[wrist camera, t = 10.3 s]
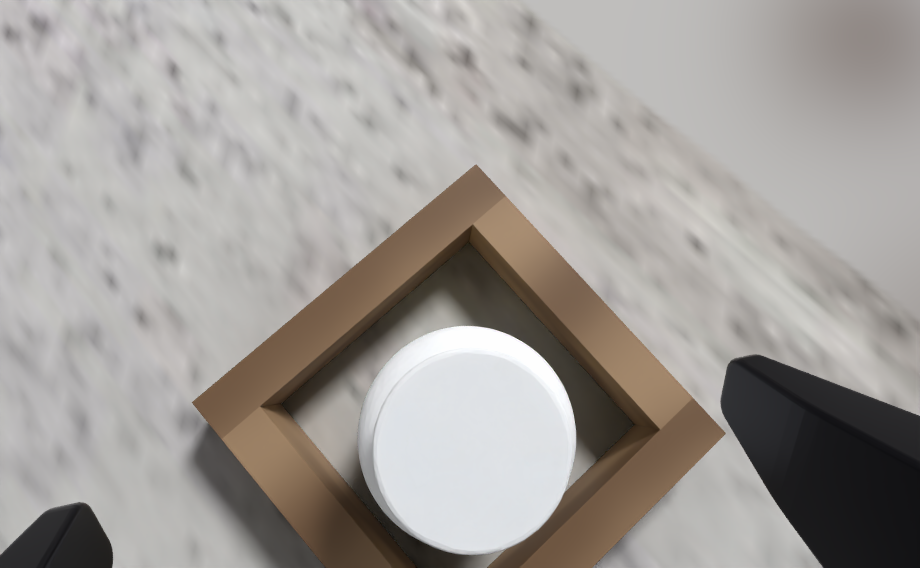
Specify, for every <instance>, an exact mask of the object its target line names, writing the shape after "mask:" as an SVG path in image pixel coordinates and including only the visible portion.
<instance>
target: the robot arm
mask: <svg viewBox="0 0 920 568" xmlns="http://www.w3.org/2000/svg"><path fill="white" fill-rule="evenodd" d="M721 409H722V412H723V415H724V417H725V419H726V420H727V422H728V424H729V426H730V427H731V429H732V431H733V432H734V434H735V436H736V437H737V439H738V441H739V442H740V444H741V446H742V447H743V449H744V451H745V452H746V454H747V456H748V457H749V459H750V461H751V462H752V464H753V466H754V467H755V469H756V471H757V472H758V474H759V476H760V478H761V479H762V481H763V483H764V484H765V486H766V488H767V489H768V491H769V492H770V494H771V495H772V497H773V499H774V500H775V502H776V503H777V505H778V506H779V508H780V509H781V511H782V512H783V513H784V515H785V516H786V518H787V519H788V520H789V522H790V523H791V525H792V526H793V527H794V529H795V530H796V531H797V533H798V534H799V535H800V537H801V538H802V539H803V541H804V542H805V544H806V545H807V546H808V548H809V549H810V550H811V552H812V553H813V554H814V556H815V557H816V559H817V560H818V561H819V563H820V564H821V565H822V567H823V568H920V416H919V415H916V414H913V413H911V412H908V411H905V410H903V409H900V408H898V407H895V406H892V405H890V404H887V403H884V402H882V401H879V400H877V399H874V398H871V397H869V396H866V395H864V394H861V393H858V392H856V391H853V390H850V389H848V388H845V387H843V386H840V385H837V384H835V383H832V382H830V381H827V380H824V379H822V378H819V377H816V376H814V375H811V374H809V373H806V372H803V371H801V370H798V369H796V368H793V367H790V366H788V365H785V364H782V363H780V362H777V361H775V360H772V359H769V358H767V357H764V356H761V355H749V356H744V357H739V358H735V359H733V360H731V361H730V363H729V364H728V366H727V370H726V375H725V380H724V385H723V390H722V395H721ZM112 565H113V552H112V547H111V543H110V541H109V539H108V537H107V536H106V534H105V532H104V530H103V528H102V527H101V525H100V523H99V521H98V519H97V518H96V516H95V514H94V512H93V511H92V509H91V508H90V506H89V505H87V504H86V503H81V502H78V503H73V504H69V505H64V506H60V507H55V508H52V509H49V510H47V511H46V512H44V513H43V514H42V515H41V516H40V517H39V518H38V519H37V520H36V521H35V522H34V523H33V524H31V525H30V526H29V527H28V528H27V529H26V530H25V531H24V532H23V533H22V534H21V535H20V536H19V537H18V538H17V539H16V540H15V541H14V542H13V543H12V544H11V545H10V546H9V547H8V548H7V549H6V550H5V551H4V552H3V553H2V554H1V555H0V568H112Z"/></svg>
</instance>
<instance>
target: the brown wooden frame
mask: <svg viewBox="0 0 920 568" xmlns="http://www.w3.org/2000/svg"><path fill="white" fill-rule="evenodd" d="M468 242H469V243H470V244H471V245H472V246H473V247H474V248H475V249H476V250H477V251H478V252H479V254H480V255H481V256H482V257H483V258H484V259H485V260H486V261H487V262H488V263H489V265H490V266H491V267H492V268H493V269H494V270H495V271H496V272H497V273H498V274H499V276H500V277H501V278H502V279H503V280H504V281H505V282H506V283H507V284H508V285H509V287H510V288H511V289H512V290H513V291H514V292H515V293H516V294H517V295H518V296H519V298H520V299H521V300H522V301H523V302H524V303H525V304H526V305H527V306H528V307H529V309H530V310H531V311H532V312H533V313H534V314H535V315H536V316H537V317H538V318H539V320H540V321H541V322H542V323H543V324H544V325H545V326H546V327H547V328H548V329H549V331H550V332H551V333H552V334H553V335H554V336H555V337H556V338H557V339H558V340H559V342H560V343H561V344H562V345H563V346H564V347H565V348H566V349H567V350H568V351H569V353H570V354H571V355H572V356H573V357H574V358H575V359H576V360H577V361H578V362H579V364H580V365H581V366H582V367H583V368H584V369H585V370H586V371H587V372H588V374H589V375H590V376H591V377H592V378H593V379H594V380H595V381H596V382H597V383H598V385H599V386H600V387H601V388H602V389H603V390H604V391H605V392H606V393H607V394H608V396H609V397H610V398H611V399H612V400H613V401H614V402H615V403H616V404H617V405H618V407H619V408H620V409H621V410H622V411H623V412H624V413H625V414H626V415H627V416H628V418H629V419H630V420H631V421H632V422H633V423H634V424H635V425H634V426H633V427H632V428H631V429H630V430H629V431H628V432H627V433H626V434H625V435H624V436H623V437H621V438H620V439H619V440H618V441H617V442H616V443H615V444H614V445H613V446H612V447H611V448H610V449H609V450H608V451H607V452H606V453H605V454H604V455H603V456H602V457H601V458H600V459H599V460H598V461H597V462H596V463H595V464H594V465H593V466H592V467H590V468H589V469H588V470H587V471H586V472H585V473H584V474H583V475H582V476H581V477H580V478H579V479H578V480H577V481H576V482H575V483H574V484H573V485H572V486H571V487H570V488H569V489H568V490H567V491H566V492H565V493H564V494H563V496H562V499H561V501H560V503H559V504H558V506H557V508H556V509H555V511H554V512H553V513H552V515H551V516H550V518H549V519H548V520H547V521H546V522H545V523H544V524H543V525H542V527H541V528H540V529H539V530H537V531H536V532H535V533H533V534H532V535H531V536H529V537H528V538H527V539H526V540H524V541H522V542H520V543H519V544H517V545H515V546H512V547H510V548H508V549H506V550H505V551H504V552H503V553H502V554H501V555H500V556H499V557H498V558H497V559H496V560H494V561H493V562H492V563H491V564H490V565H489V566H488V567H487V568H592V567H593V566H594V565H595V564H596V563H597V562H598V561H599V560H600V559H601V558H602V557H603V556H604V555H605V554H606V553H607V552H608V551H609V550H610V549H611V548H612V547H613V546H614V545H615V544H616V543H617V542H618V541H619V540H620V539H621V538H622V537H623V536H624V535H625V534H626V533H627V532H628V531H629V530H630V529H631V528H632V527H633V526H634V525H635V524H636V523H637V522H638V521H639V520H640V519H641V518H642V517H643V516H644V515H645V514H646V513H647V512H648V511H649V510H650V509H651V508H652V507H653V506H654V505H655V504H656V503H657V502H658V501H659V500H660V499H661V498H662V497H663V496H664V495H665V494H666V493H667V492H668V491H669V490H670V489H671V488H672V487H673V486H674V485H675V484H676V483H677V482H678V481H679V480H680V479H681V478H682V477H683V476H684V475H685V474H686V473H687V472H688V471H689V470H690V469H691V468H692V467H693V466H694V465H695V464H696V463H697V462H698V461H699V460H700V459H701V458H702V457H703V456H704V455H705V454H706V453H707V452H708V451H709V450H710V449H711V448H712V447H713V446H714V445H715V444H716V443H717V442H718V441H719V440H720V439H721V438H722V437H723V436H724V435H725V434H726V433H725V432H724V431H723V430H722V429H721V428H720V427H719V425H718V424H717V423H716V422H715V421H714V420H713V419H712V418H711V417H710V416H709V415H708V414H707V413H706V411H705V410H704V409H703V408H702V407H701V406H700V405H699V404H698V403H697V402H696V401H695V400H694V399H693V397H692V396H691V395H690V394H689V393H688V392H687V391H686V390H685V389H684V388H683V387H682V386H681V385H680V383H679V382H678V381H677V380H676V379H675V378H674V377H673V376H672V375H671V374H670V373H669V372H668V370H667V369H666V368H665V367H664V366H663V365H662V364H661V363H660V362H659V361H658V360H657V359H656V358H655V356H654V355H653V354H652V353H651V352H650V351H649V350H648V349H647V348H646V347H645V346H644V345H643V344H642V342H641V341H640V340H639V339H638V338H637V337H636V336H635V335H634V334H633V333H632V332H631V331H630V330H629V328H628V327H627V326H626V325H625V324H624V323H623V322H622V321H621V320H620V319H619V318H618V317H617V316H616V314H615V313H614V312H613V311H612V310H611V309H610V308H609V307H608V306H607V305H606V304H605V303H604V302H603V300H602V299H601V298H600V297H599V296H598V295H597V294H596V293H595V292H594V291H593V290H592V289H591V288H590V286H589V285H588V284H587V283H586V282H585V281H584V280H583V279H582V278H581V277H580V276H579V275H578V273H577V272H576V271H575V270H574V269H573V268H572V267H571V266H570V265H569V264H568V263H567V262H566V261H565V259H564V258H563V257H562V256H561V255H560V254H559V253H558V252H557V251H556V250H555V249H554V248H553V247H552V245H551V244H550V243H549V242H548V241H547V240H546V239H545V238H544V237H543V236H542V235H541V234H540V233H539V231H538V230H537V229H536V228H535V227H534V226H533V225H532V224H531V223H530V222H529V221H528V220H527V219H526V217H525V216H524V215H523V214H522V213H521V212H520V211H519V210H518V209H517V208H516V207H515V206H514V205H513V203H512V202H511V201H510V200H509V199H508V198H507V197H506V196H505V195H504V194H503V193H502V192H501V191H500V189H499V188H498V187H497V186H496V185H495V184H494V183H493V182H492V181H491V180H490V179H489V178H488V177H487V175H486V174H485V173H484V172H483V171H482V170H481V169H480V168H479V167H478V166H477V165H474V166H473V167H472V168H471V169H470V170H469V171H467V172H466V173H465V174H464V175H463V176H461V177H460V178H459V179H458V180H457V181H455V182H454V183H453V184H452V185H451V186H449V187H448V188H447V189H446V190H445V191H443V192H442V193H441V194H440V195H439V196H437V197H436V198H435V199H434V200H433V201H432V202H430V203H429V204H428V205H427V206H426V207H424V208H423V209H422V210H421V211H420V212H418V213H417V214H416V215H415V216H414V217H412V218H411V219H410V220H409V221H408V222H406V223H405V224H404V225H403V226H402V227H401V228H399V229H398V230H397V231H396V232H395V233H393V234H392V235H391V236H390V237H389V238H387V239H386V240H385V241H384V242H383V243H381V244H380V245H379V246H378V247H377V248H375V249H374V250H373V251H372V252H371V253H369V254H368V255H367V256H366V257H365V258H364V259H362V260H361V261H360V262H359V263H358V264H356V265H355V266H354V267H353V268H352V269H350V270H349V271H348V272H347V273H346V274H344V275H343V276H342V277H341V278H340V279H338V280H337V281H336V282H335V283H334V284H333V285H331V286H330V287H329V288H328V289H327V290H325V291H324V292H323V293H322V294H321V295H319V296H318V297H317V298H316V299H315V300H313V301H312V302H311V303H310V304H309V305H307V306H306V307H305V308H304V309H303V310H301V311H300V312H299V313H298V314H297V315H296V316H294V317H293V318H292V319H291V320H290V321H288V322H287V323H286V324H285V325H284V326H282V327H281V328H280V329H279V330H278V331H276V332H275V333H274V334H273V335H272V336H270V337H269V338H268V339H267V340H266V341H265V342H263V343H262V344H261V345H260V346H259V347H257V348H256V349H255V350H254V351H253V352H251V353H250V354H249V355H248V356H247V357H245V358H244V359H243V360H242V361H241V362H239V363H238V364H237V365H236V366H235V367H233V368H232V369H231V370H230V371H229V372H228V373H226V374H225V375H224V376H223V377H222V378H220V379H219V380H218V381H217V382H216V383H214V384H213V385H212V386H211V387H210V388H208V389H207V390H206V391H205V392H204V393H202V394H201V395H200V396H199V397H198V398H197V399H195V400H194V401H193V402H192V403H193V405H194V406H195V407H196V408H197V410H198V411H199V412H200V413H201V415H202V416H203V417H204V418H205V419H206V421H207V422H208V423H209V424H210V426H211V427H212V428H213V429H214V431H215V432H216V433H217V434H218V436H219V437H220V438H221V439H222V440H223V442H224V443H225V444H226V445H227V447H228V448H229V449H230V450H231V452H232V453H233V454H234V455H235V456H236V458H237V459H238V460H239V461H240V463H241V464H242V465H243V466H244V468H245V469H246V470H247V471H248V473H249V474H250V475H251V476H252V477H253V479H254V480H255V481H256V482H257V484H258V485H259V486H260V487H261V489H262V490H263V491H264V492H265V494H266V495H267V496H268V497H269V498H270V500H271V501H272V502H273V503H274V505H275V506H276V507H277V508H278V510H279V511H280V512H281V513H282V514H283V516H284V517H285V518H286V519H287V521H288V522H289V523H290V524H291V526H292V527H293V528H294V529H295V531H296V532H297V533H298V534H299V535H300V537H301V538H302V539H303V540H304V542H305V543H306V544H307V545H308V547H309V548H310V549H311V550H312V552H313V553H314V554H315V555H316V556H317V558H318V559H319V560H320V561H321V563H322V564H323V565H324V566H325V568H417V567H416V566H415V565H414V564H413V562H412V561H411V560H410V559H409V558H408V556H407V555H406V554H405V553H404V552H403V550H402V549H401V548H400V547H399V546H398V544H397V543H396V542H395V541H394V539H393V538H392V537H391V536H390V535H389V533H388V532H387V531H386V530H385V529H384V527H383V526H382V525H381V524H380V523H379V521H378V520H377V519H376V518H375V517H374V515H373V514H372V513H371V512H370V511H369V509H368V508H367V507H366V506H365V505H364V503H363V502H362V501H361V500H360V499H359V497H358V496H357V495H356V494H355V493H354V491H353V490H352V489H351V488H350V487H349V485H348V484H347V483H346V482H345V481H344V479H343V478H342V477H341V476H340V474H339V473H338V472H337V471H336V470H335V468H334V467H333V466H332V465H331V464H330V462H329V461H328V460H327V459H326V458H325V456H324V455H323V454H322V453H321V452H320V450H319V449H318V448H317V447H316V446H315V444H314V443H313V442H312V441H311V440H310V438H309V437H308V436H307V435H306V434H305V432H304V431H303V430H302V429H301V428H300V426H299V425H298V424H297V423H296V422H295V420H294V419H293V418H292V417H291V416H290V414H289V413H288V412H287V411H286V409H285V408H284V407H283V406H282V405H281V403H283V402H284V401H285V400H286V399H287V398H288V397H290V396H291V395H292V394H293V393H294V392H295V391H297V390H298V389H299V388H300V387H301V386H302V385H303V384H305V383H306V382H307V381H308V380H309V379H310V378H312V377H313V376H314V375H315V374H316V373H317V372H319V371H320V370H321V369H322V368H323V367H324V366H326V365H327V364H328V363H329V362H330V361H331V360H333V359H334V358H335V357H336V356H337V355H338V354H340V353H341V352H342V351H343V350H344V349H345V348H346V347H348V346H349V345H350V344H351V343H352V342H353V341H355V340H356V339H357V338H358V337H359V336H360V335H362V334H363V333H364V332H365V331H366V330H367V329H369V328H370V327H371V326H372V325H373V324H374V323H376V322H377V321H378V320H379V319H380V318H381V317H382V316H384V315H385V314H386V313H387V312H388V311H389V310H391V309H392V308H393V307H394V306H395V305H396V304H398V303H399V302H400V301H401V300H402V299H403V298H405V297H406V296H407V295H408V294H409V293H410V292H412V291H413V290H414V289H415V288H416V287H417V286H419V285H420V284H421V283H422V282H423V281H424V280H425V279H427V278H428V277H429V276H430V275H431V274H432V273H434V272H435V271H436V270H437V269H438V268H439V267H441V266H442V265H443V264H444V263H445V262H446V261H448V260H449V259H450V258H451V257H452V256H453V255H455V254H456V253H457V252H458V251H459V250H460V249H461V248H463V247H464V246H465V245H466V244H467V243H468Z"/></svg>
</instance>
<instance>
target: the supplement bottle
mask: <svg viewBox="0 0 920 568" xmlns="http://www.w3.org/2000/svg"><path fill="white" fill-rule="evenodd" d="M575 450H576V427H575V420H574V414H573V410H572V406H571V403H570V400H569V397H568V395H567V392H566V390H565V388H564V386H563V384H562V383H561V381H560V379H559V378H558V376H557V374H556V373H555V372H554V370H553V369H552V368H551V366H550V365H549V364H548V363H547V362H546V360H544V359H543V358H542V357H541V356H540V355H539V354H538V353H537V352H536V351H535V350H533V349H532V348H531V347H529V346H528V345H526V344H525V343H523V342H522V341H520V340H518V339H516V338H515V337H513V336H511V335H509V334H506V333H503V332H500V331H498V330H494V329H490V328H485V327H477V326H456V327H449V328H444V329H440V330H437V331H433V332H430V333H428V334H425V335H423V336H421V337H419V338H417V339H416V340H414V341H412V342H410V343H409V344H407V345H406V346H405V347H403V348H402V349H401V350H399V351H398V352H397V353H396V354H395V355H394V356H393V357H391V359H390V360H389V361H388V362H387V363H386V364H385V365H384V367H383V368H382V369H381V371H380V372H379V373H378V375H377V377H376V378H375V380H374V381H373V383H372V385H371V387H370V388H369V390H368V393H367V395H366V397H365V400H364V403H363V406H362V409H361V414H360V419H359V425H358V453H359V460H360V464H361V468H362V472H363V475H364V478H365V481H366V483H367V486H368V488H369V490H370V492H371V493H372V495H373V497H374V499H375V500H376V502H377V503H378V505H379V506H380V508H381V509H382V510H383V512H384V513H385V514H386V515H387V516H388V517H389V518H390V519H391V520H392V521H393V522H394V523H395V524H396V525H397V526H398V527H400V528H401V529H402V530H403V531H405V532H406V533H408V534H409V535H411V536H413V537H414V538H416V539H418V540H420V541H422V542H424V543H426V544H428V545H430V546H432V547H434V548H437V549H439V550H442V551H446V552H449V553H454V554H460V555H484V554H490V553H495V552H499V551H502V550H505V549H508V548H510V547H512V546H515V545H517V544H519V543H520V542H522V541H524V540H526V539H527V538H528V537H529V536H531V535H532V534H533V533H535V532H536V531H537V530H539V529H540V528H541V527H542V525H543V524H544V523H545V522H546V521H547V520H548V519H549V518H550V516H551V515H552V513H553V512H554V511H555V509H556V508H557V506H558V504H559V503H560V501H561V499H562V496H563V494H564V492H565V489H566V487H567V484H568V480H569V477H570V474H571V471H572V467H573V463H574V458H575Z"/></svg>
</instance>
